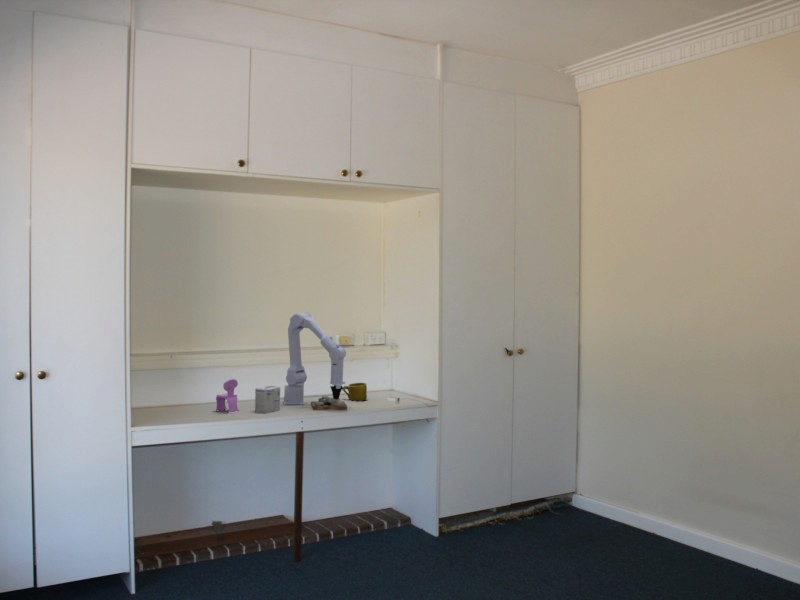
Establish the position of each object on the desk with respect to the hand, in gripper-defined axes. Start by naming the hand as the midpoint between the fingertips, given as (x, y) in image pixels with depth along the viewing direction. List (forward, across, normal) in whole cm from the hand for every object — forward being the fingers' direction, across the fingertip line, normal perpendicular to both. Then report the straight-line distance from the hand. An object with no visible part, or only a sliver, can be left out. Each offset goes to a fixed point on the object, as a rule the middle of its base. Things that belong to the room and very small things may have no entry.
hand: (335, 401), depth 358 cm
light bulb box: (+4, -5, +32) cm, 33 cm away
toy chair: (+4, -6, +50) cm, 50 cm away
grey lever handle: (+1, 0, +3) cm, 3 cm away
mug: (+4, +23, -12) cm, 26 cm away
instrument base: (+3, +3, +3) cm, 5 cm away
